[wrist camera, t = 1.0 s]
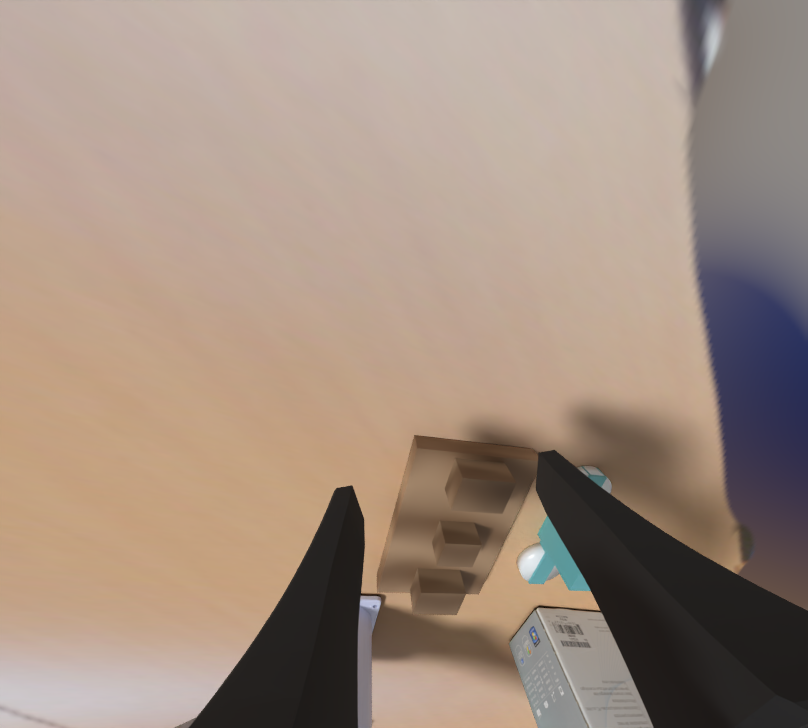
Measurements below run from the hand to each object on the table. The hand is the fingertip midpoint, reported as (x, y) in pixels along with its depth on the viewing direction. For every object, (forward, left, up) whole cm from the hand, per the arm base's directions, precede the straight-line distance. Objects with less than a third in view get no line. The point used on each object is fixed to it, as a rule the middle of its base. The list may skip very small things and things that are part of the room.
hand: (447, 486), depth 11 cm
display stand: (-13, -6, -10) cm, 17 cm away
